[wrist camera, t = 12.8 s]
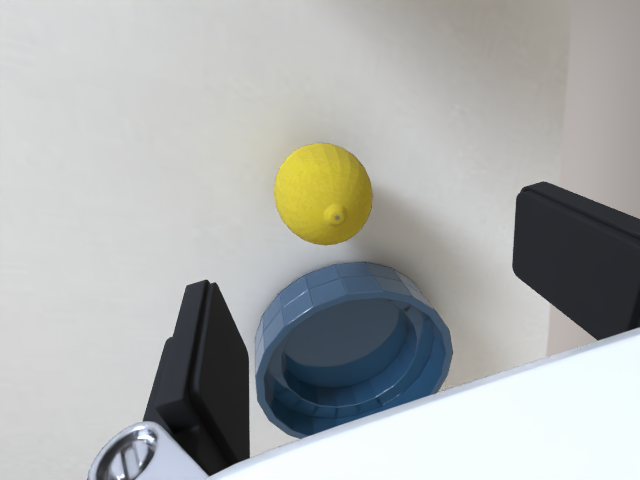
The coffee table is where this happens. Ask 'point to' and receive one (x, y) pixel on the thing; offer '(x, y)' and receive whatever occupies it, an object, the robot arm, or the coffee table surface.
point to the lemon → (323, 193)
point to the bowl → (347, 348)
